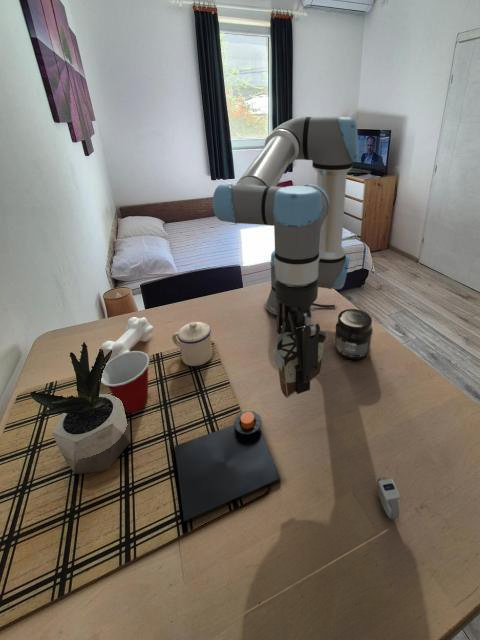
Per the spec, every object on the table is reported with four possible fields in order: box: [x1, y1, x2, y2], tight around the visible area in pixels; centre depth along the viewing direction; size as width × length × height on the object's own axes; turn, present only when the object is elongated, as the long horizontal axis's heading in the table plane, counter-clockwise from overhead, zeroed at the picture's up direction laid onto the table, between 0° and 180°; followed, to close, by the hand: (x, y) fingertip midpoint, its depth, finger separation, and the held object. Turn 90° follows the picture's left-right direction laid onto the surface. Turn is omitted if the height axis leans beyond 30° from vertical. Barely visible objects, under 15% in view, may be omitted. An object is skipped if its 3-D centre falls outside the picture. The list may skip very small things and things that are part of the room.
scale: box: [174, 410, 282, 526], centre depth 66 cm, size 18×16×3 cm
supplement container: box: [333, 308, 374, 362], centre depth 95 cm, size 10×10×12 cm
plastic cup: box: [100, 350, 150, 414], centre depth 77 cm, size 11×11×12 cm
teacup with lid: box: [171, 321, 213, 367], centre depth 93 cm, size 12×9×12 cm
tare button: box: [241, 411, 255, 429], centre depth 71 cm, size 3×3×2 cm
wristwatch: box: [376, 476, 402, 520], centre depth 58 cm, size 6×3×5 cm, turn 9°
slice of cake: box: [273, 328, 329, 399], centre depth 64 cm, size 12×6×10 cm, turn 132°
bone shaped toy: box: [100, 316, 154, 361], centre depth 95 cm, size 15×9×8 cm, turn 170°
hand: (295, 378), depth 66 cm, fingers closed on slice of cake, 6 cm apart
